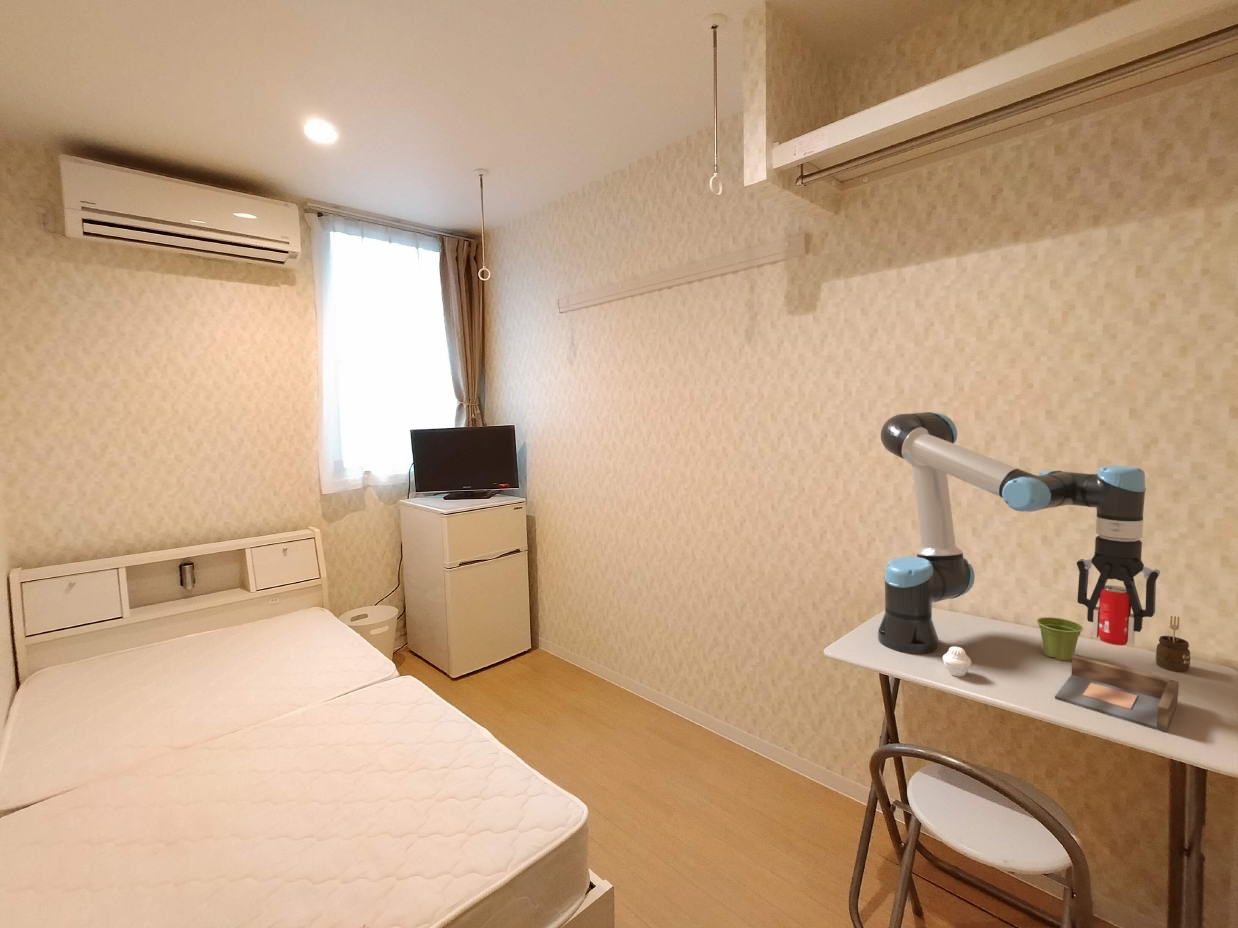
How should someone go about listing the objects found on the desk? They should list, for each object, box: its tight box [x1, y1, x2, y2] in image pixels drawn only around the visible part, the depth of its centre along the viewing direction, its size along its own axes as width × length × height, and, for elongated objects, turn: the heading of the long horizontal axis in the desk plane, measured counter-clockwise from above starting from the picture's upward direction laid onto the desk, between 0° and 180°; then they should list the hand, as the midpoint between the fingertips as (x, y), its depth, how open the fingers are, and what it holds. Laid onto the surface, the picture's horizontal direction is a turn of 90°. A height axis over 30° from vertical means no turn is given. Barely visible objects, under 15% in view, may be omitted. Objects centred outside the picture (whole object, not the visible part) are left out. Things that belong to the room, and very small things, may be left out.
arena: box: [1054, 654, 1180, 734], centre depth 122 cm, size 18×16×5 cm
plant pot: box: [1036, 616, 1084, 662], centre depth 144 cm, size 9×9×9 cm
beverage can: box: [1098, 584, 1132, 647], centre depth 121 cm, size 5×5×12 cm
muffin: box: [942, 646, 972, 678], centre depth 137 cm, size 6×6×7 cm
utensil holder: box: [1155, 615, 1191, 673], centre depth 136 cm, size 6×6×12 cm
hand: (1113, 640), depth 122 cm, fingers closed on beverage can, 5 cm apart
